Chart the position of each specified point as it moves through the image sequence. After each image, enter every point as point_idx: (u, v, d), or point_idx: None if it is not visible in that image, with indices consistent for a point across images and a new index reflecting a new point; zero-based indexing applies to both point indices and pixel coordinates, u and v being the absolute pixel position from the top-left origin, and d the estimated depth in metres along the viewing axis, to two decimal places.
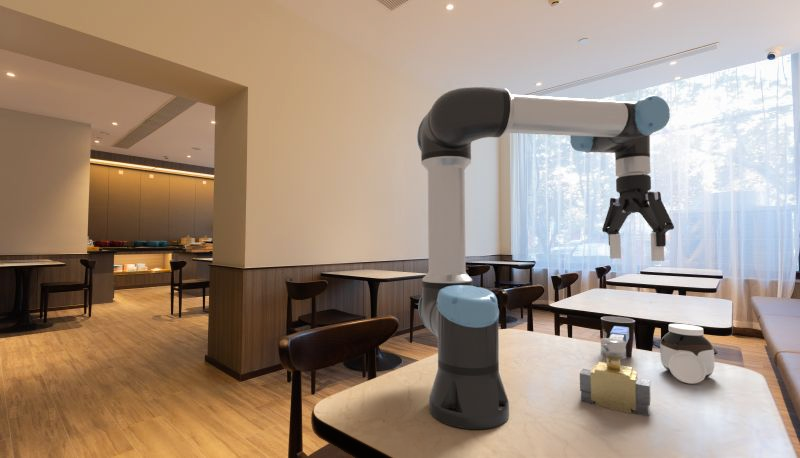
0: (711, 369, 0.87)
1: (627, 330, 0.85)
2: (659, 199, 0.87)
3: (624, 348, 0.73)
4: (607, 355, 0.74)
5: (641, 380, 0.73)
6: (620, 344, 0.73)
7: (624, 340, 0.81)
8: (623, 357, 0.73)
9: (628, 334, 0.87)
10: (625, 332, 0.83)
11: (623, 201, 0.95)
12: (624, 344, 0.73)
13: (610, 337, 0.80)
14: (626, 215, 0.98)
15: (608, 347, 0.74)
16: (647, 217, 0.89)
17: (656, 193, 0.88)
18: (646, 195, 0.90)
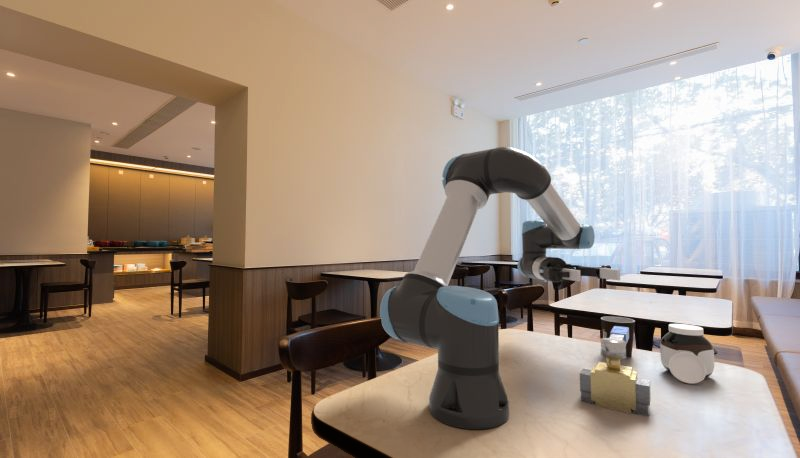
0: (711, 369, 0.87)
1: (627, 330, 0.85)
2: None
3: (624, 348, 0.73)
4: (607, 355, 0.74)
5: (641, 380, 0.73)
6: (620, 344, 0.73)
7: (624, 340, 0.81)
8: (623, 357, 0.73)
9: (628, 334, 0.87)
10: (625, 332, 0.83)
11: (558, 264, 1.09)
12: (624, 344, 0.73)
13: (610, 337, 0.80)
14: None
15: (608, 347, 0.74)
16: (588, 267, 1.05)
17: None
18: None
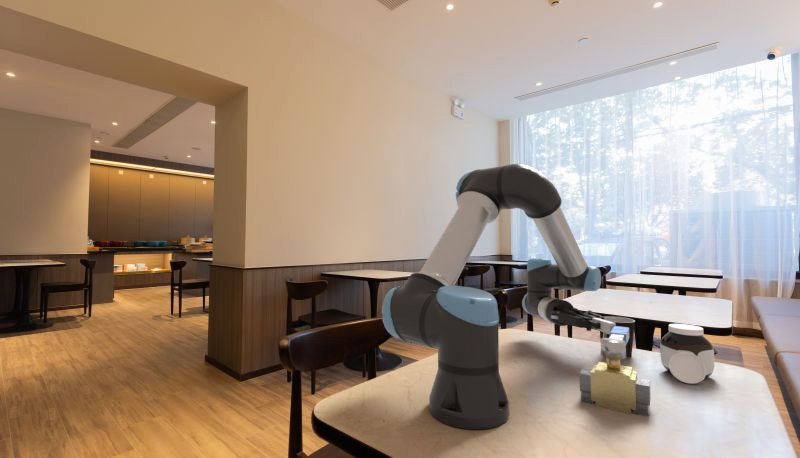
0: (711, 369, 0.87)
1: (627, 330, 0.85)
2: None
3: (624, 348, 0.73)
4: (607, 355, 0.74)
5: (641, 380, 0.73)
6: (620, 344, 0.73)
7: (624, 340, 0.81)
8: (623, 357, 0.73)
9: (628, 334, 0.87)
10: (625, 332, 0.83)
11: (565, 308, 1.07)
12: (624, 344, 0.73)
13: (610, 337, 0.80)
14: None
15: (608, 347, 0.74)
16: (588, 314, 1.01)
17: None
18: None
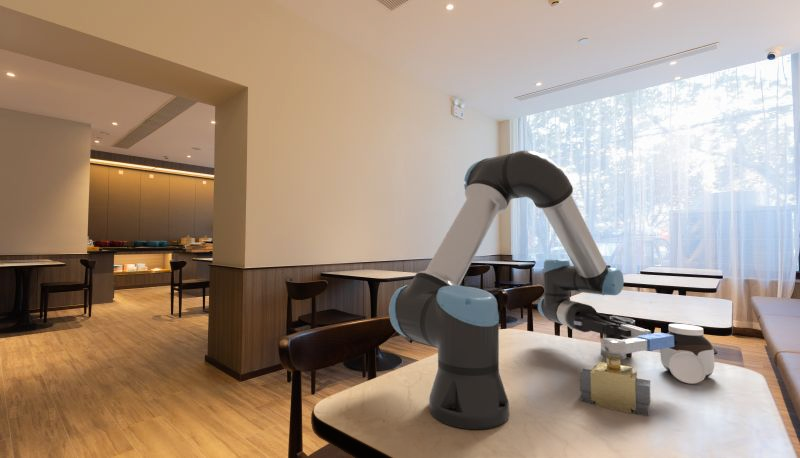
0: (711, 369, 0.87)
1: (663, 337, 0.79)
2: None
3: (619, 349, 0.73)
4: (602, 353, 0.75)
5: (641, 380, 0.73)
6: (614, 344, 0.73)
7: (648, 345, 0.77)
8: (618, 357, 0.73)
9: (670, 342, 0.80)
10: (654, 338, 0.78)
11: (588, 313, 0.99)
12: (620, 345, 0.73)
13: (625, 339, 0.78)
14: None
15: (603, 345, 0.75)
16: (616, 320, 0.93)
17: None
18: None
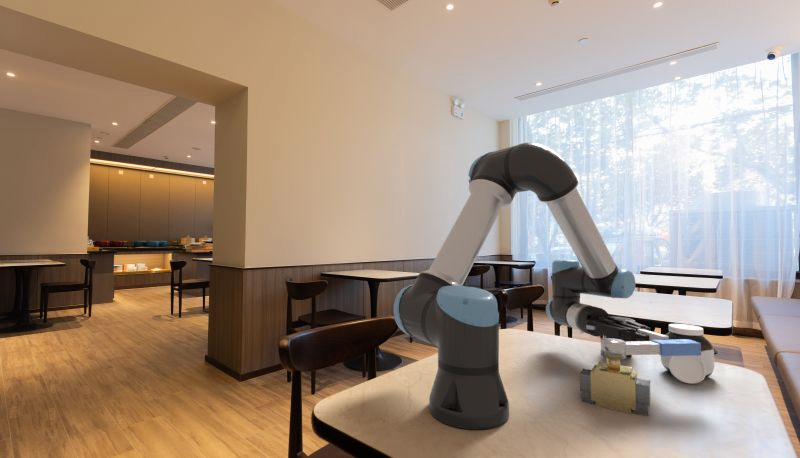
0: (711, 369, 0.87)
1: (682, 343, 0.74)
2: None
3: (615, 348, 0.73)
4: (601, 352, 0.76)
5: (641, 380, 0.73)
6: (609, 343, 0.73)
7: (661, 350, 0.74)
8: (613, 357, 0.73)
9: (694, 350, 0.74)
10: (670, 343, 0.74)
11: (601, 317, 0.94)
12: (615, 344, 0.73)
13: (633, 341, 0.76)
14: None
15: (601, 344, 0.75)
16: (630, 324, 0.88)
17: None
18: None
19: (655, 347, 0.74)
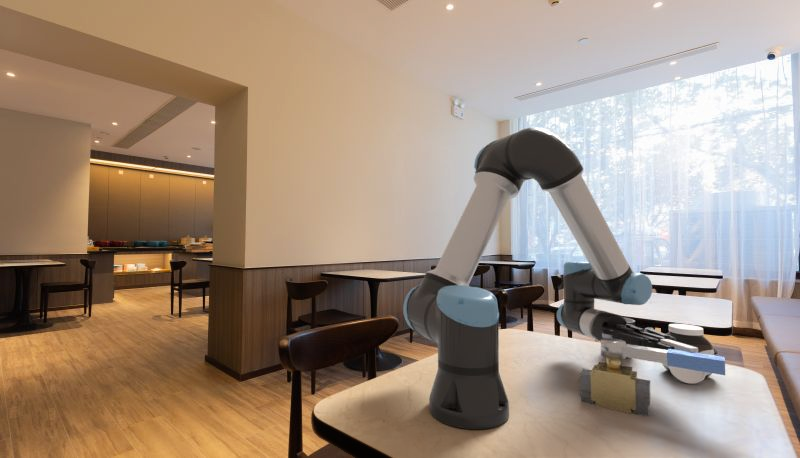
0: None
1: (697, 356, 0.65)
2: None
3: (606, 347, 0.74)
4: None
5: (641, 380, 0.73)
6: (602, 341, 0.75)
7: (667, 359, 0.68)
8: (605, 355, 0.74)
9: (714, 367, 0.64)
10: (680, 354, 0.67)
11: (618, 324, 0.85)
12: (607, 343, 0.74)
13: (643, 346, 0.73)
14: None
15: None
16: (652, 334, 0.80)
17: None
18: None
19: (659, 355, 0.69)
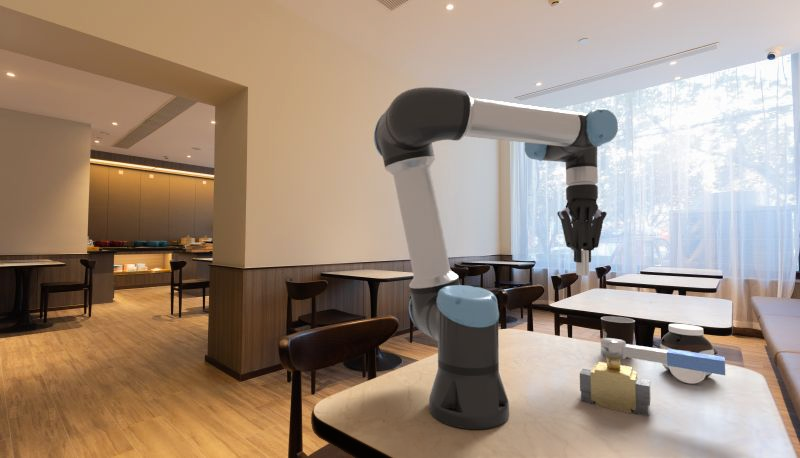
0: None
1: (697, 356, 0.65)
2: None
3: (606, 347, 0.74)
4: None
5: (641, 380, 0.73)
6: (602, 341, 0.75)
7: (667, 359, 0.68)
8: (605, 355, 0.74)
9: (714, 367, 0.64)
10: (680, 354, 0.67)
11: (582, 208, 0.95)
12: (607, 343, 0.74)
13: (643, 346, 0.73)
14: None
15: None
16: (590, 232, 0.96)
17: None
18: (597, 210, 0.98)
19: (659, 355, 0.69)
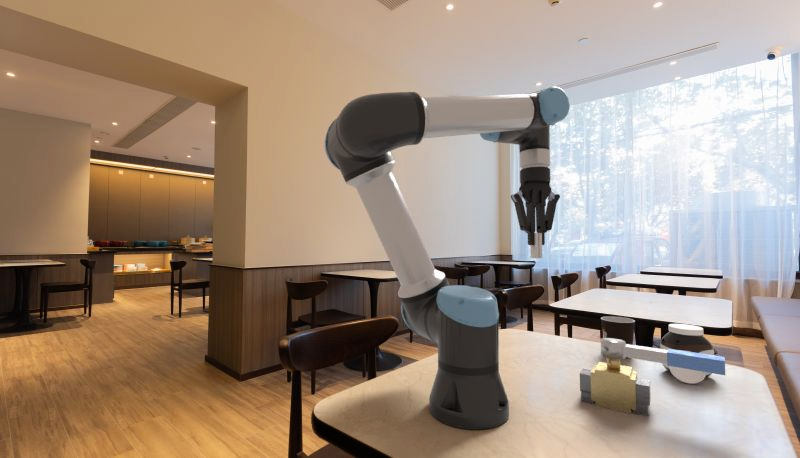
0: None
1: (697, 356, 0.65)
2: None
3: (606, 347, 0.74)
4: None
5: (641, 380, 0.73)
6: (602, 341, 0.75)
7: (667, 359, 0.68)
8: (605, 355, 0.74)
9: (714, 367, 0.64)
10: (680, 354, 0.67)
11: (534, 191, 0.95)
12: (607, 343, 0.74)
13: (643, 346, 0.73)
14: None
15: None
16: (543, 215, 0.96)
17: None
18: (551, 192, 0.98)
19: (659, 355, 0.69)
